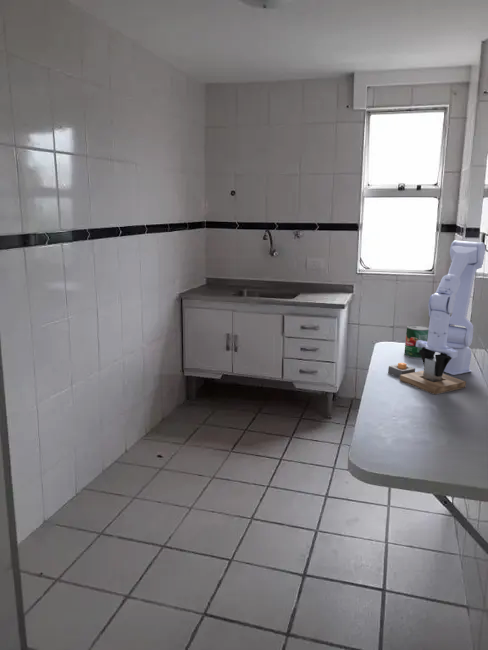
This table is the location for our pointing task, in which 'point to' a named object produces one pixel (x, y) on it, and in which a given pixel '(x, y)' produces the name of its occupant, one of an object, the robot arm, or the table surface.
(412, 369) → the button housing
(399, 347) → the table surface
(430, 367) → the billet
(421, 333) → the canned tomato
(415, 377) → the wooden board
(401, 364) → the button cap
